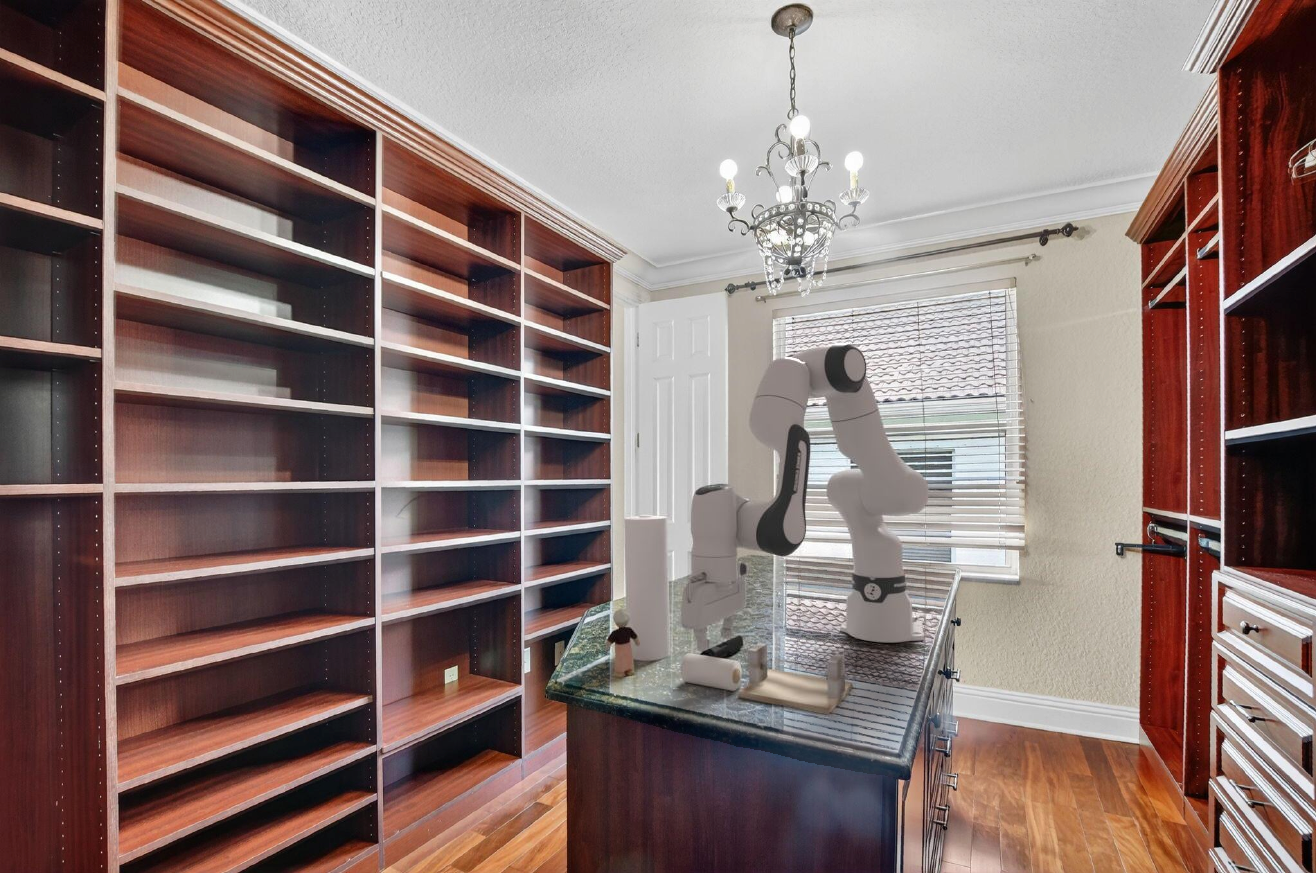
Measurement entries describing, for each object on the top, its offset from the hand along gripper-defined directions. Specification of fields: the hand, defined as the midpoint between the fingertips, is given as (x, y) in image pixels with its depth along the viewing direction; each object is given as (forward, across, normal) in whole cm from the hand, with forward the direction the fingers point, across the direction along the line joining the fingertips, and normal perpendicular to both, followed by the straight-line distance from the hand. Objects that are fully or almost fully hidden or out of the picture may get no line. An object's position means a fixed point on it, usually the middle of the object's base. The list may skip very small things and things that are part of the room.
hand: (715, 643), depth 120 cm
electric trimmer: (+7, +15, +6) cm, 18 cm away
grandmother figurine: (+7, -6, +18) cm, 20 cm away
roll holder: (+7, +2, -15) cm, 17 cm away
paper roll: (+6, 0, 0) cm, 6 cm away
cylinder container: (+7, +8, +21) cm, 23 cm away
